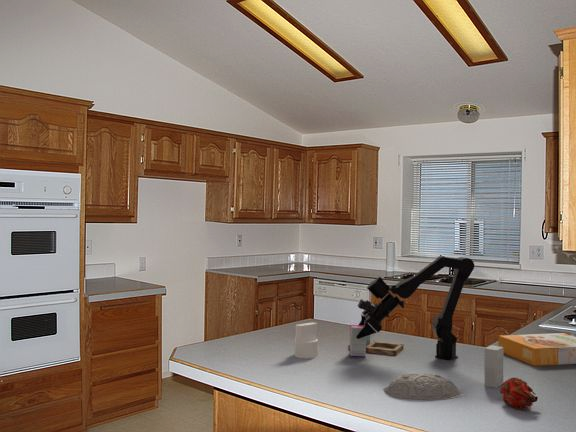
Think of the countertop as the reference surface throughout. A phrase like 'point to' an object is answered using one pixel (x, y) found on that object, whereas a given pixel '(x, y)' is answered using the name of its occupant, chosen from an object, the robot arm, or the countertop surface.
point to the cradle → (383, 348)
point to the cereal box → (540, 348)
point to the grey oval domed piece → (422, 387)
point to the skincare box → (493, 366)
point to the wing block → (367, 340)
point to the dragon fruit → (517, 393)
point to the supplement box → (357, 342)
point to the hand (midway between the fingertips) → (355, 335)
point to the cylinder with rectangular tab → (306, 340)
